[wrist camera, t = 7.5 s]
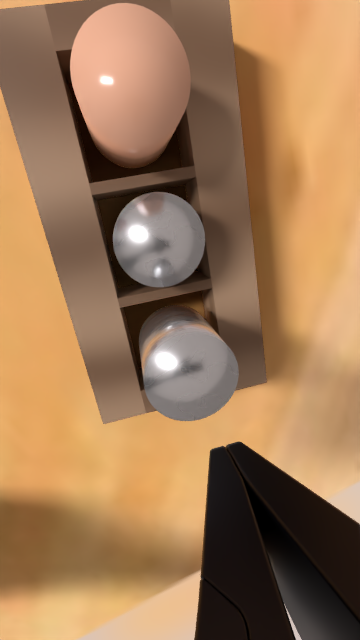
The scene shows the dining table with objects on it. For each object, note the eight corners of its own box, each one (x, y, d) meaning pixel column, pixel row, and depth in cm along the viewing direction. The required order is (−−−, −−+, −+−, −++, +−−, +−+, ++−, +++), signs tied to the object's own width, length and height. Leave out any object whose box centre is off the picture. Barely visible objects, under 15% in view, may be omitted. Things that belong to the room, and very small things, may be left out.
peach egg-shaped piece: (177, 161, 16) (198, 135, 11) (99, 174, 15) (88, 152, 11) (162, 67, 14) (179, -3, 10) (76, 79, 14) (54, 9, 10)
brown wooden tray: (248, 362, 22) (266, 382, 19) (106, 396, 21) (103, 424, 18) (208, 29, 16) (227, -15, 13) (5, 53, 15) (-23, 11, 12)
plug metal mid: (190, 265, 19) (211, 277, 14) (124, 278, 18) (125, 295, 14) (178, 195, 17) (197, 184, 13) (108, 207, 17) (102, 201, 12)
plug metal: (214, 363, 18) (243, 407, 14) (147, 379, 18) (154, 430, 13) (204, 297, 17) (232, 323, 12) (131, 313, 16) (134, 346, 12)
